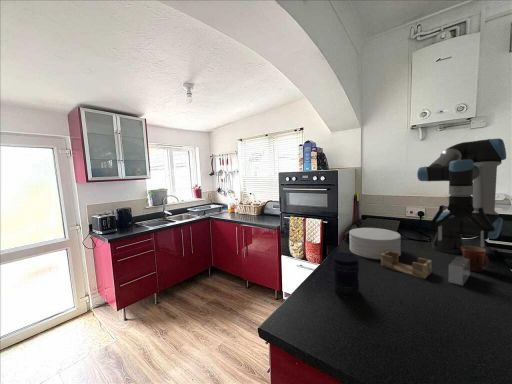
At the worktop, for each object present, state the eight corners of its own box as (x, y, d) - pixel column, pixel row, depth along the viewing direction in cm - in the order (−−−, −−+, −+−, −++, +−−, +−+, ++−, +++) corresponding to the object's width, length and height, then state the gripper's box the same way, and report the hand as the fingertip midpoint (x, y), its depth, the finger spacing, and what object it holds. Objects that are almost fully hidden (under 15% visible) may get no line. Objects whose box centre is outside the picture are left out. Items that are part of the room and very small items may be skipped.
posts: (388, 260, 116) (388, 250, 116) (431, 272, 101) (432, 260, 101) (380, 266, 111) (380, 254, 110) (425, 278, 95) (425, 266, 95)
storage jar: (348, 300, 82) (347, 263, 81) (329, 289, 91) (327, 256, 90) (364, 293, 87) (363, 258, 86) (344, 283, 96) (344, 251, 95)
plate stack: (399, 247, 137) (399, 229, 136) (401, 263, 113) (401, 242, 112) (352, 241, 152) (352, 226, 151) (346, 255, 128) (345, 236, 127)
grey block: (448, 282, 92) (448, 264, 91) (456, 272, 100) (456, 256, 99) (462, 286, 88) (462, 267, 88) (469, 275, 96) (470, 258, 96)
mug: (455, 265, 107) (455, 245, 106) (476, 265, 105) (476, 245, 104) (474, 276, 95) (475, 254, 95) (498, 277, 94) (498, 254, 93)
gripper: (422, 195, 99) (422, 239, 101) (503, 197, 79) (502, 252, 80) (427, 193, 104) (427, 235, 105) (505, 195, 83) (504, 247, 85)
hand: (459, 243), depth 93 cm, fingers open, 13 cm apart
